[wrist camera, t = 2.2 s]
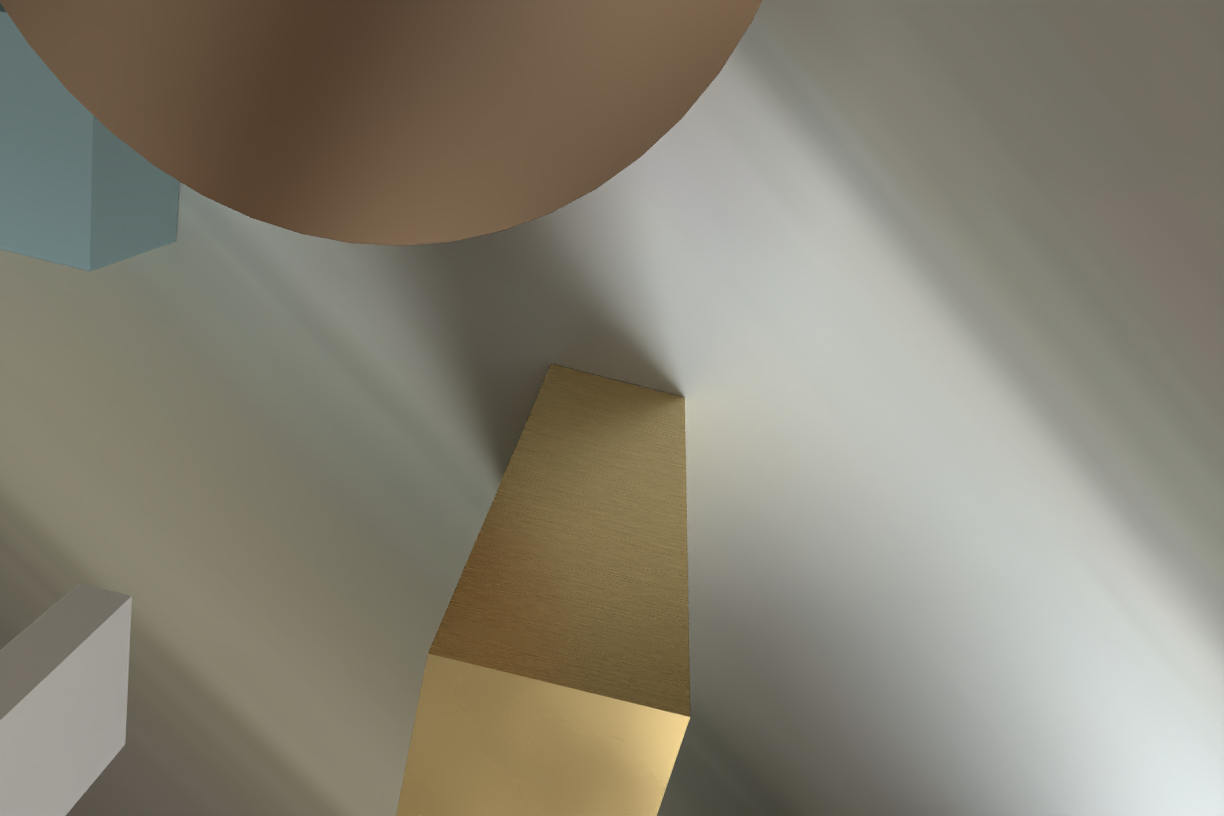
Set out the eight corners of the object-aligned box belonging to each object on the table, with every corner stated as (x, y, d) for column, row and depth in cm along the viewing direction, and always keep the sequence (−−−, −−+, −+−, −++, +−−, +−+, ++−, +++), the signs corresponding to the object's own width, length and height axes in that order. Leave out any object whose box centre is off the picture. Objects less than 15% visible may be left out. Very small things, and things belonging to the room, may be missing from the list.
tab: (641, 546, 24) (609, 952, 13) (516, 516, 24) (379, 897, 13) (684, 397, 23) (690, 717, 12) (550, 363, 23) (427, 653, 12)
